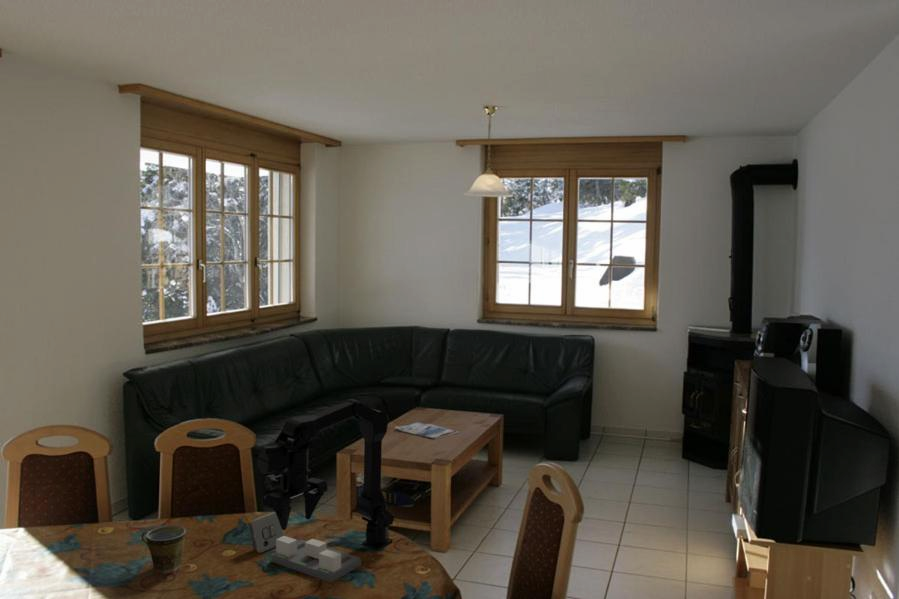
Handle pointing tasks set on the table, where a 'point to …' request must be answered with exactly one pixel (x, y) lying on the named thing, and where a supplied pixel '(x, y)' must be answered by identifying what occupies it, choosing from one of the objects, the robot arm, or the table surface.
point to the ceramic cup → (165, 547)
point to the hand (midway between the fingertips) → (296, 524)
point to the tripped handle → (314, 548)
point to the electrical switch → (265, 532)
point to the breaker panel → (313, 560)
